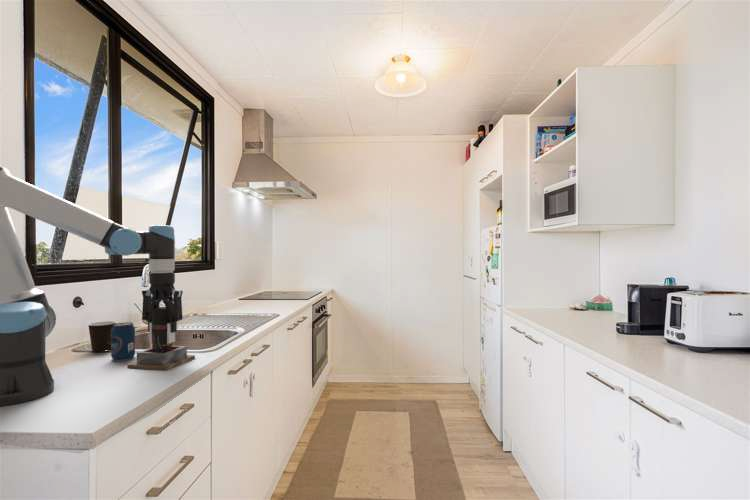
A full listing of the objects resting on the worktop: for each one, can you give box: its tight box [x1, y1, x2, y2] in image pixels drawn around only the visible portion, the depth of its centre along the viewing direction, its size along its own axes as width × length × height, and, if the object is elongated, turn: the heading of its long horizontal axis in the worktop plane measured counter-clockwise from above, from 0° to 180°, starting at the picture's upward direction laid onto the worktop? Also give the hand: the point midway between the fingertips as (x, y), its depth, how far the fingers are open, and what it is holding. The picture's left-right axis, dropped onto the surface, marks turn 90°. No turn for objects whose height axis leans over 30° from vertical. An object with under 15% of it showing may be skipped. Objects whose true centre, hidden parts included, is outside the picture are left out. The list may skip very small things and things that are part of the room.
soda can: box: [110, 322, 136, 362], centre depth 137 cm, size 7×7×12 cm
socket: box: [127, 345, 196, 371], centre depth 132 cm, size 14×14×4 cm
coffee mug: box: [87, 320, 117, 353], centre depth 150 cm, size 12×9×10 cm
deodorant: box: [151, 306, 174, 353], centre depth 132 cm, size 6×6×15 cm
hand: (162, 341), depth 132 cm, fingers closed on deodorant, 6 cm apart
